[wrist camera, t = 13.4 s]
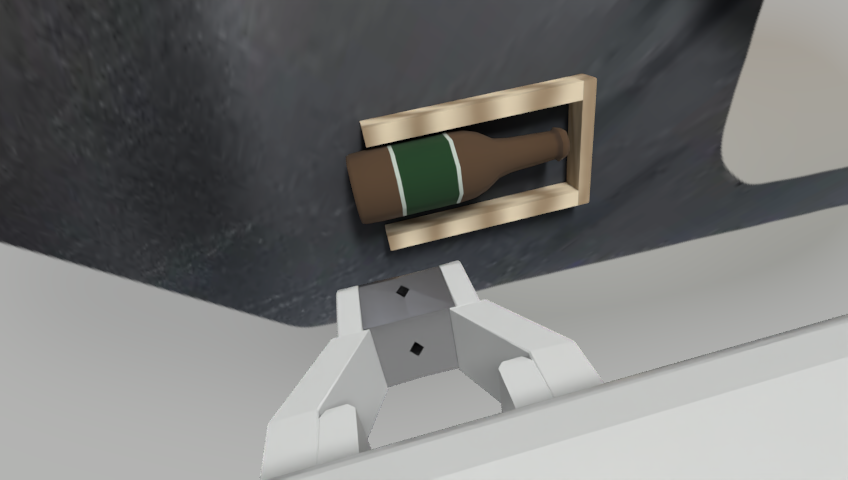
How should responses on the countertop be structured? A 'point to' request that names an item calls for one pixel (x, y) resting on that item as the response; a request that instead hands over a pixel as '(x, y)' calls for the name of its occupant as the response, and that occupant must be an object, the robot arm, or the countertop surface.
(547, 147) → the beer bottle
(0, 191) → the countertop surface
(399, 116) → the u rest
